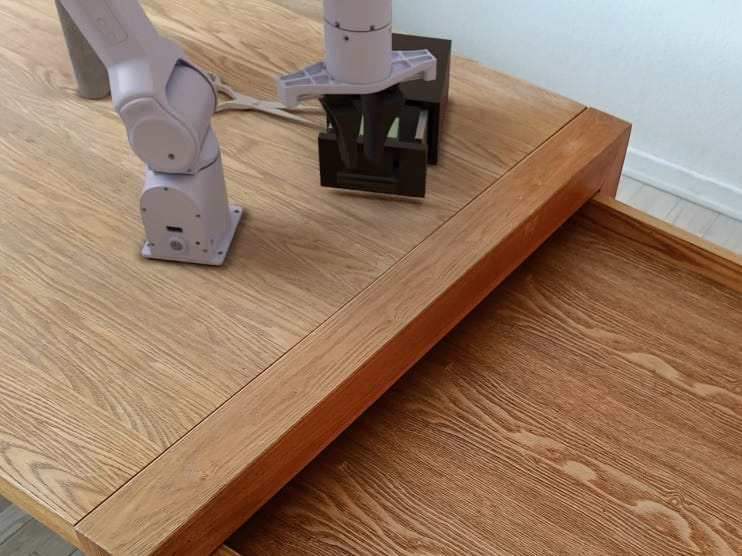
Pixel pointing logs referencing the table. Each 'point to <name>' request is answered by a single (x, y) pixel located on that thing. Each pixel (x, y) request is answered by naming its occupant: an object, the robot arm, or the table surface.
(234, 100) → the scissors
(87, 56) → the hip flask
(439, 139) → the cabinet
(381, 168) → the drawer
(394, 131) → the block
